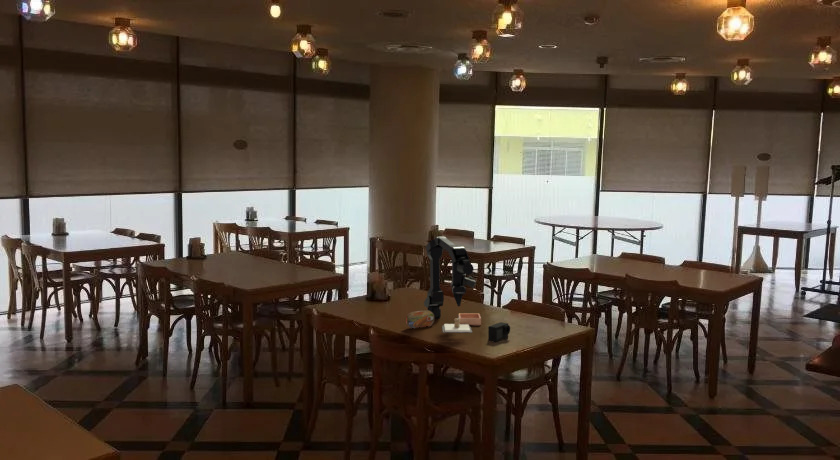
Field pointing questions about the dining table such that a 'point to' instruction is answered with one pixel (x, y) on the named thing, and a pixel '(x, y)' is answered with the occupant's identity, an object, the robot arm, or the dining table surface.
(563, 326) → the dining table surface
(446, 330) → the lid
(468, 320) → the dish
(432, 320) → the tin
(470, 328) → the mat
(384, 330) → the dining table surface
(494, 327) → the digital camera
